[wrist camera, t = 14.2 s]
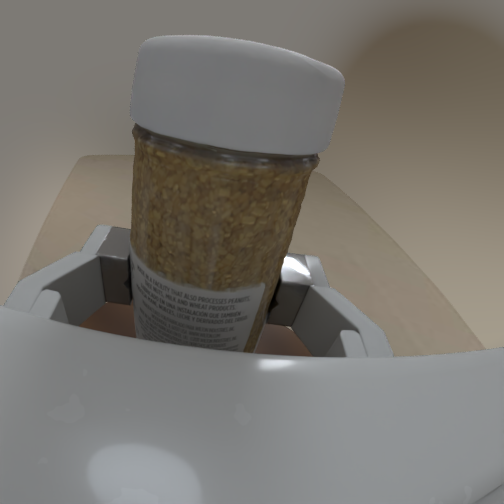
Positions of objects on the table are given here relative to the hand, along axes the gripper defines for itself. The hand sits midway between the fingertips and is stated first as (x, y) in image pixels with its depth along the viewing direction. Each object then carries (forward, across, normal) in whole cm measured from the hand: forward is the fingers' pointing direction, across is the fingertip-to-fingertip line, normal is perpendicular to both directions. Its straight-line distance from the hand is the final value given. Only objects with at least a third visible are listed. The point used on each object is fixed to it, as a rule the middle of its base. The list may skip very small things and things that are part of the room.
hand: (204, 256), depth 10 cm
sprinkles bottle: (-1, 0, +7) cm, 7 cm away
